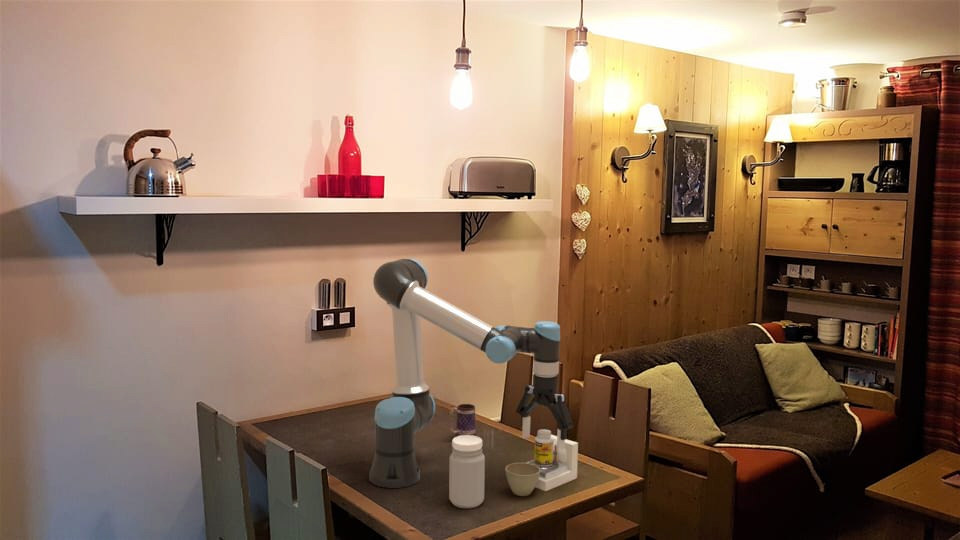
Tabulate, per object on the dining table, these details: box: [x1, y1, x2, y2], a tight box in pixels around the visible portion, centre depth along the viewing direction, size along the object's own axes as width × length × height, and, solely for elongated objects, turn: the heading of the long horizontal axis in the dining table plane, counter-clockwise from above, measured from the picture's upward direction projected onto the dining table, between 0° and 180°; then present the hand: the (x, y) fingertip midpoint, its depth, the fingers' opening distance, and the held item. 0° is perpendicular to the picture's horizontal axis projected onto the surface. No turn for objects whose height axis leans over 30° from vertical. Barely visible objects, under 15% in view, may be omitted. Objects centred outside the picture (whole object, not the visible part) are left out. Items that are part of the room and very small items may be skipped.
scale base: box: [535, 434, 579, 492], centre depth 230 cm, size 15×12×11 cm
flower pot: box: [505, 462, 540, 497], centre depth 219 cm, size 10×10×7 cm
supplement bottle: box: [533, 428, 553, 467], centre depth 228 cm, size 6×6×10 cm
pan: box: [525, 459, 567, 480], centre depth 229 cm, size 10×10×2 cm
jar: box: [448, 435, 486, 509], centre depth 212 cm, size 10×10×18 cm
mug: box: [449, 403, 477, 437], centre depth 264 cm, size 10×7×12 cm
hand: (542, 443), depth 228 cm, fingers open, 13 cm apart
